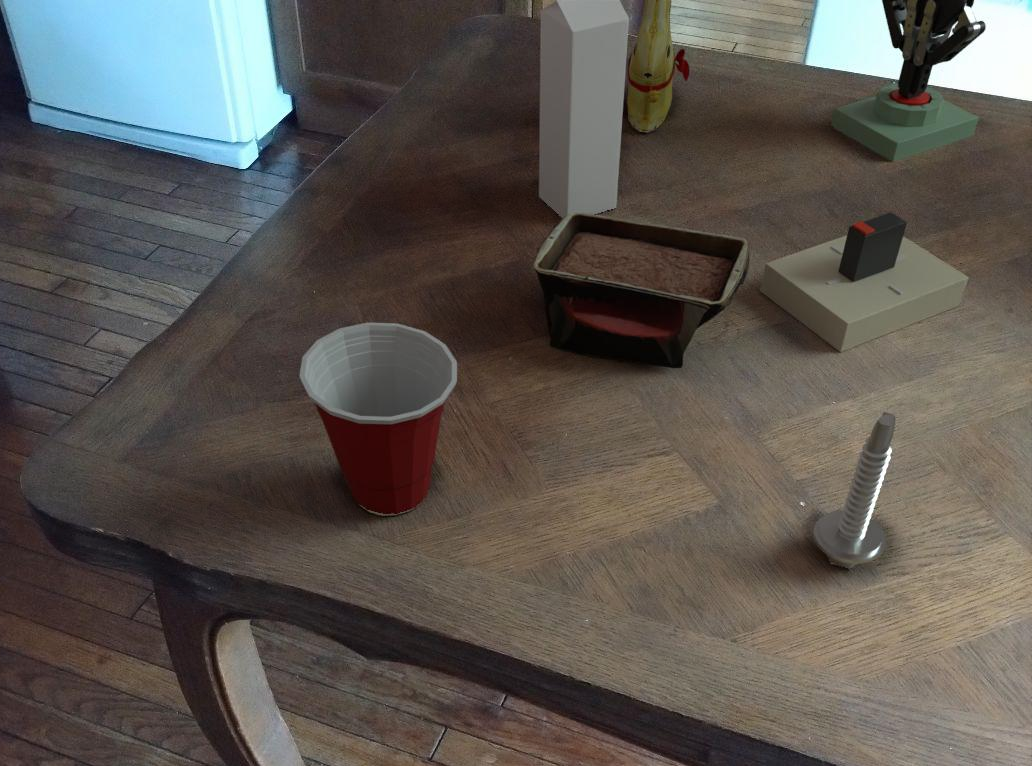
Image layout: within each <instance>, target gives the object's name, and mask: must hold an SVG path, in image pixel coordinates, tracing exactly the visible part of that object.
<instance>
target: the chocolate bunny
mask: <svg viewBox="0 0 1032 766" xmlns="http://www.w3.org/2000/svg"><path fill="white" fill-rule="evenodd" d="M643 5H644V7H643V16H642V20H641V22H640V25H639V29H638V32H637V35H636V37H635V41H634V44H633V47H632V49H631V52H630V54H629V58H628V62H627V79H628V82H627V83H628V86H627V87H628V89H627V91H628V94H627V101H626V105H627V114H628V116H627V120H628V122H629V124H630V126H631V125H632V126H633V127H635V128H637V129H638V130H642V131H650V130H652V129H656V128H658V127H659V128H660V127H661V126H662V125H663V123H664V122H665V119H666V117H667V115H668V112H669V110H670V108H671V105H672V99H673V85H674V83H673V82H674V74H675V70H676V69H677V71H678V72H679V73H681V74H682V76H683V79H684V81H685V82H688V79H689V77H690V65H689V63H688V61H687V59H685V55H686V50H685V48H681V49H679V50H678V51H677V53H675V49H674V47H673V40H672V32H671V31H672V30H671V9H672V0H644V4H643ZM632 126H631V127H632ZM633 127H632V128H633ZM659 128H658V129H659ZM656 130H657V129H656Z"/></svg>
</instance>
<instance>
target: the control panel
mask: <svg viewBox="0 0 1032 766" xmlns="http://www.w3.org/2000/svg"><path fill="white" fill-rule="evenodd" d="M846 238H847V234H846V235H844V236H840V237H837V238H835V239H831V240H829V241H825V242H823V243H821V244H817V245H815V246H811V247H809V248H806V249H802V250H800V251H797V252H795V253H791V254H789V255H785V256H782V257H780V258H777V259H774V260H771V261H769V262H766V263H765V264H764V269H763V275H762V278H761V279H762V280H761V284H760V285H761V286H760V293H762V294H763V295H764V296H766V297H767V298H768V299H769V300H771V301H773V302H774V303H775V304H776V305H777V306H779V307H780V308H781V309H782V310H784V311H785V312H787V313H788V314H789V315H790V316H792V317H793V318H795V319H796V320H797V321H799V322H800V323H801V324H802V325H804V326H805V327H806V328H807V329H809V330H811V331H812V332H813V333H814V334H816V335H817V336H818V337H820V338H821V339H822V340H824V341H825V342H826V343H828V344H829V345H830V346H831V347H833V348H834V349H835V350H836V351H838V352H839V353H842V352H844V351H845V352H846V351H847V350H850V349H852V348H856V347H858V346H860V345H863V344H865V343H867V342H870V341H872V340H876V339H878V338H880V337H884V336H886V335H888V334H891V333H893V332H896V331H898V330H901V329H904V328H906V327H909V326H911V325H915V324H916V323H918V322H921V321H925V320H927V319H929V318H931V317H934V316H937V315H939V314H942V313H944V312H946V311H947V312H948V311H949V310H952V309H954V308H958V307H959V306H960V304H961V301H962V299H963V296H964V293H965V290H966V287H967V285H968V281H969V280H970V279H969V276H967V275H966V274H965V273H962V272H961V271H959V270H958V269H956V268H955V267H953V266H951V265H949V264H948V263H947V262H945V261H943V260H942V259H940V258H938V257H937V256H935V255H934V254H932V253H931V252H929V251H928V250H926V249H924V248H923V247H921V246H919V245H918V244H916V243H915V242H913V241H912V240H910V239H909V238H907V237H905V236H904V235H903V238H902V242H901V245H900V249H899V252H898V256H897V259H896V263H895V266H894V268H891V269H888V270H885V271H883V272H880V273H877V274H874V275H872V276H869V277H866V278H863V279H861V280H858V281H855V282H852V281H851V280H849V279H848V278H847V277H845V276H844V275H842V274H841V273H839V272H838V271H839V267H840V262H841V258H842V254H843V250H844V246H845V242H846Z"/></svg>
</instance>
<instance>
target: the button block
mask: <svg viewBox="0 0 1032 766" xmlns="http://www.w3.org/2000/svg"><path fill="white" fill-rule="evenodd" d="M896 89H899V88H898V83H892V84H889V85H886V86H881V88H880V89H879V91H878V92H877V93H876V96H872V97H868V98H865V99H860V100H858V101H854V102H851V103H848V104H845V105H841V106H837V107H835V108H834V110H833V114H832V118H831V123H830V127H831V126H833V127H834V128H836V129H838V130H839V131H841V132H843V133H844V134H846V135H848V136H850V137H851V138H853V139H855V140H856V141H855V140H854V141H855V142H857V141H858V142H860V143H861V144H860V143H859V144H860V145H862V144H863V145H862V146H864V147H865V146H866V147H865V148H867V147H868V148H867V149H869V148H870V149H869V150H870V151H872V150H873V151H872V152H874V151H875V152H874V153H876V152H877V153H876V154H877V155H879V154H880V155H879V156H880V157H883V158H885V159H886V160H888V161H890V162H891V163H894V162H897V161H901V160H903V159H906V158H910V157H913V156H916V155H918V154H922V153H925V152H928V151H932V150H935V149H938V148H940V147H941V148H942V147H943V146H946V145H949V144H953V143H957V142H959V141H962V140H965V139H968V138H971V137H974V134H975V132H976V128H977V125H978V122H979V119H980V117H979V116H978V115H976V114H973V113H971V112H970V111H967V110H965V109H963V108H961V107H959V106H958V105H956V104H953V103H951V102H950V101H947V100H945V99H944V97H943V96H942V94H941V92H938V91H937V90H935V89H933V88H931V87H929V86H927V88H926V90H925V92H926V93H928V94H929V96H930V98H929V102H928V104H925V105H922V106H908V105H903V104H899V103H897V102H895V101H893V100H891V96H892V92H893V91H894V90H896ZM834 128H833V129H834ZM836 129H835V130H836ZM839 131H838V132H839ZM841 132H840V133H841ZM843 133H842V134H843ZM844 134H843V135H844ZM846 135H845V136H846ZM848 136H847V137H848ZM850 137H849V138H850ZM851 138H850V139H851ZM853 139H852V140H853ZM858 142H857V143H858Z"/></svg>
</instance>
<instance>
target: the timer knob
mask: <svg viewBox="0 0 1032 766" xmlns="http://www.w3.org/2000/svg"><path fill="white" fill-rule="evenodd" d="M907 224H908V222H907V221H906V220H905V219H903V218H901V217H900V216H898V215H896V214H894V213H893V212H888V213H884V214H882V215H879V216H876V217H873V218H870V219H868V220H864V221H858V222H854V223H852V225H850V226H849V227H848V230H847V233H846V235H847V238H846V242H845V246H844V250H843V254H842V258H841V262H840V267H839V271H838V272H839V273H841V274H842V275H844V276H845V277H847V278H848V279H849V280H851V281H852V282H855V281H858V280H861V279H863V278H866V277H869V276H872V275H874V274H877V273H880V272H883V271H885V270H888V269H891V268H894V266H895V263H896V259H897V256H898V252H899V249H900V245H901V242H902V238H903V236H904V234H905V231H906V228H907Z"/></svg>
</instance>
